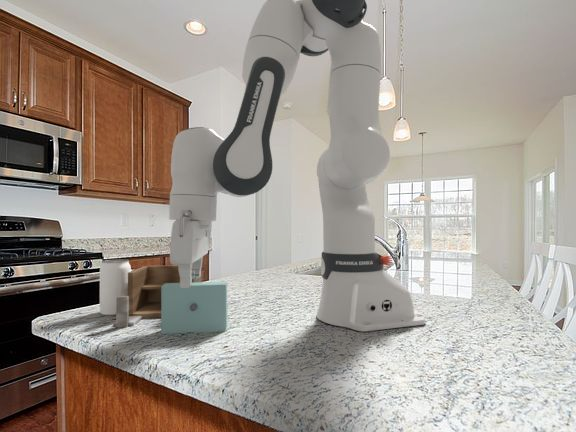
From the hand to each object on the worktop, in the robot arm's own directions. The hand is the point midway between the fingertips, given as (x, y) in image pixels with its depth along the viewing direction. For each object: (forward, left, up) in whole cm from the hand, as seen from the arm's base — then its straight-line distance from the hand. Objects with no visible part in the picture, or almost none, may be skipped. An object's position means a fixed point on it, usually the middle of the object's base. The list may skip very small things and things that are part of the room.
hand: (191, 282), depth 63 cm
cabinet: (+8, -12, -9) cm, 17 cm away
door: (-1, 0, -9) cm, 9 cm away
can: (+20, -15, -9) cm, 27 cm away
